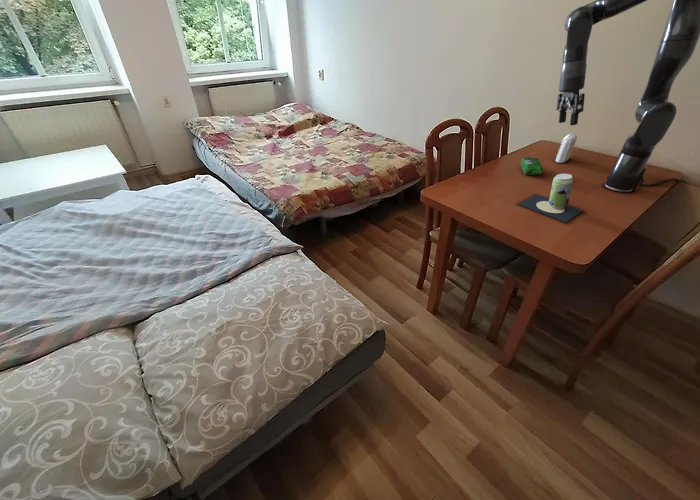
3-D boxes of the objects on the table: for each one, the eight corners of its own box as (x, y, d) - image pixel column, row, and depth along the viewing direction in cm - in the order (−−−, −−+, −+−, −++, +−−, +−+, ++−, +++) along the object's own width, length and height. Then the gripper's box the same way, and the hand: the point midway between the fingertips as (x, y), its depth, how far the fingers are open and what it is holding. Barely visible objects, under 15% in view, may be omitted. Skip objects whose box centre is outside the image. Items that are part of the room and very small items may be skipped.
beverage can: (569, 210, 117) (583, 178, 110) (549, 210, 117) (561, 179, 110) (560, 202, 122) (572, 171, 115) (540, 202, 122) (551, 172, 115)
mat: (518, 204, 122) (518, 203, 121) (536, 195, 128) (536, 194, 128) (565, 223, 111) (565, 221, 110) (582, 211, 117) (583, 210, 117)
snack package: (523, 177, 142) (527, 166, 139) (518, 164, 154) (521, 154, 151) (541, 179, 140) (545, 168, 137) (534, 166, 152) (538, 155, 149)
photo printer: (560, 156, 163) (570, 131, 155) (570, 158, 160) (580, 132, 153) (553, 161, 157) (562, 135, 150) (563, 164, 154) (573, 137, 147)
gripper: (596, 72, 108) (589, 124, 115) (573, 73, 121) (568, 120, 128) (571, 77, 109) (566, 127, 116) (551, 78, 122) (548, 123, 129)
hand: (567, 123), depth 122 cm, fingers open, 8 cm apart
